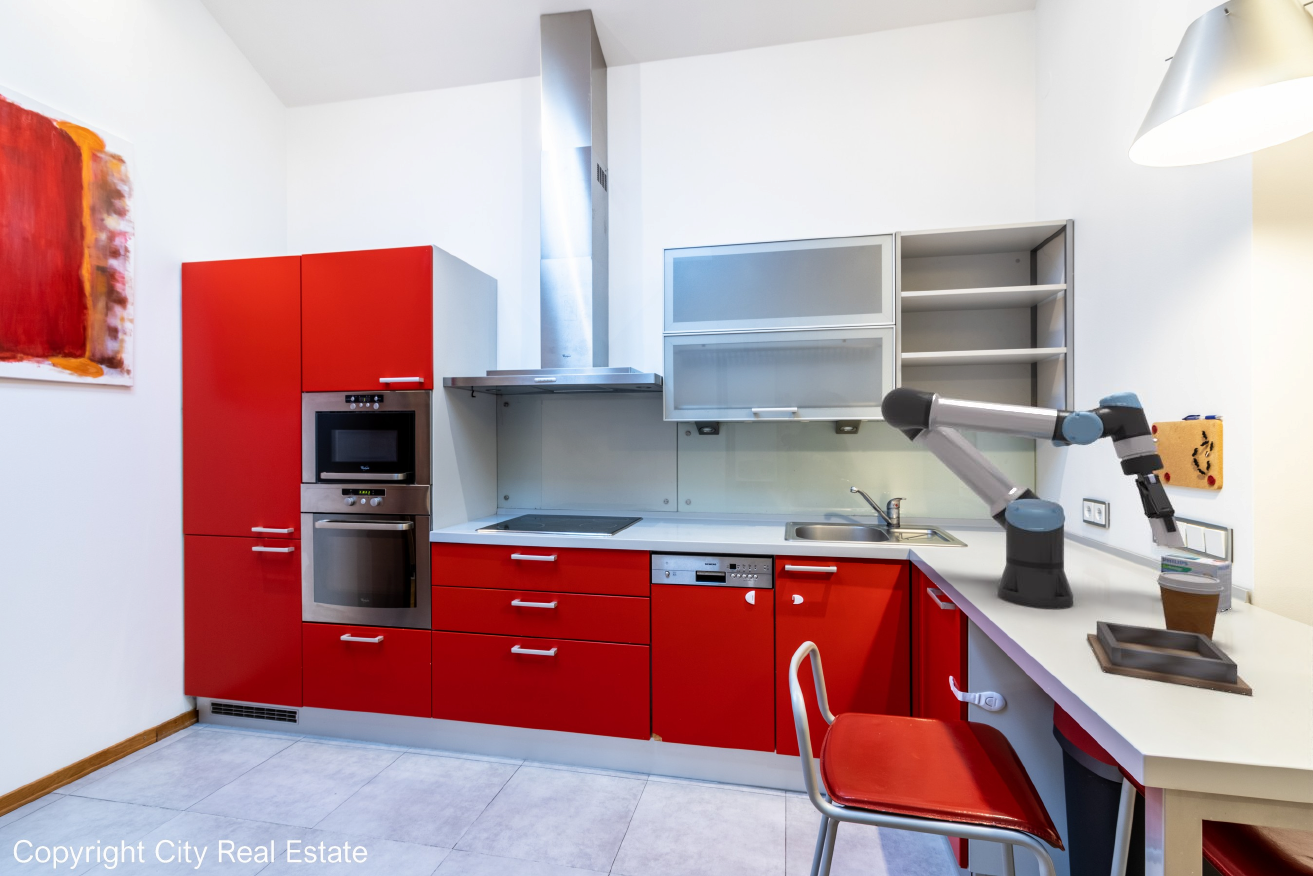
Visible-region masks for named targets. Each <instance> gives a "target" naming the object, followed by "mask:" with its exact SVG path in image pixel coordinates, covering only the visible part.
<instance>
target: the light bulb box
mask: <svg viewBox="0 0 1313 876" xmlns="http://www.w3.org/2000/svg"><path fill="white" fill-rule="evenodd" d="M1232 566H1233V565H1232V561H1227V560H1219V559H1213V558H1205V557H1199V556H1191V555H1186V554H1179V553H1172V554H1166V555H1162V556H1161V559H1160V573H1162V572H1181V573H1191V574H1198V575H1204V576H1208V577H1212V578H1216V579H1218V580H1220V583H1221V586H1222V587H1223V588H1224V590H1222V593H1220V598H1219V603H1218V608H1217V612H1218V613H1220V612H1219V611H1222V610H1226V609H1229V610H1231V609H1232V583H1233V581H1232V579H1233V578H1232V577H1233V576H1232V575H1233V571H1232V570H1233V569H1232V568H1233V567H1232ZM1161 600H1162V597H1161V596H1160V601H1161ZM1230 608H1231V609H1230ZM1226 611H1227V610H1226ZM1222 612H1223V611H1222Z"/></svg>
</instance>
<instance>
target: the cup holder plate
mask: <svg viewBox="0 0 1313 876" xmlns="http://www.w3.org/2000/svg"><path fill="white" fill-rule="evenodd" d="M1086 635H1087V636H1086V639H1087V641H1088V643H1089V645H1090V647H1091V649H1092V648H1093V649H1092V652H1093V653H1094V655H1095V658H1096V659H1097V662H1098V661H1099V662H1098V663H1100V664H1099V666H1100V665H1101V666H1100V667H1102V668H1101V669H1103V670H1102V672H1103V671H1105V672H1104V673H1107V672H1111V673H1110V674H1114V673H1116V674H1115V675H1120V674H1121V676H1126V675H1129V676H1128V677H1132V676H1134V677H1133V678H1139V677H1140V679H1145V678H1147V679H1146V680H1151V679H1152V680H1151V681H1158V682H1164V683H1170V684H1171V683H1172V684H1176V685H1177V684H1178V685H1182V684H1186V685H1185V686H1189V685H1193V686H1192V687H1195V686H1199V687H1198V688H1201V687H1206V688H1205V689H1207V688H1213V689H1212V690H1214V689H1218V690H1217V691H1220V690H1224V691H1223V692H1226V691H1231V692H1230V693H1232V692H1238V693H1245V694H1250V695H1249V696H1251V695H1252V696H1253V689H1252V687H1251V686H1249V684H1248V683H1247V682H1245V680H1243V678H1241V677H1240V676H1239V675H1238V664H1237V663H1236V662H1235V661H1234V660H1233V659H1232V658H1231V657H1229V655H1227V654H1226V653H1225V651H1223V650H1222V649H1221V648H1220V647H1219V646H1218V645H1217V644H1215V642H1214V641H1213V640H1212V641H1211V640H1210V639H1209V638H1208V637H1207V636H1206V635H1205V634H1197V633H1189V632H1181V631H1173V630H1167V629H1166V628H1165V629H1164V628H1157V627H1156V628H1155V627H1149V626H1141V625H1132V624H1131V625H1130V624H1125V623H1115V622H1109V621H1100V620H1096V633H1094V634H1093V633H1088V632H1087V634H1086ZM1238 693H1237V694H1238ZM1245 694H1244V695H1245Z"/></svg>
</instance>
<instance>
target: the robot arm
mask: <svg viewBox="0 0 1313 876" xmlns="http://www.w3.org/2000/svg"><path fill="white" fill-rule="evenodd" d="M880 412H881V415H882V417H883V420H884V421H885V422H886V423H887V424H888V425H889V426H891V427H892V428H895V429H898V430H899V431H900V432H901V433H902V434H903V435H904V436H905V437H906V438H908V439H909V441H911V442H912V443H914V444H915V443H916V444H922V445H923V446H924V447H925V448H926V449H928V451H929V452H930V453H932V454H933V455H934V456H935V457H936V458H937V459H938V460H939V461H941V463H942V464H943V465H944V466H945V467H946V468H948V469H949V470H950V471H951V472H952V473H953V474H954V476H956V477H957V478H958V479H959V480H960V481H961V482H962V483H964V485H966V486H967V487H968V488H969V489H970V490H971V491H972V492H973V494H975V495H977V496H978V498H980V499H981V500H982V501H983V502H984V503H985V504H986V505H987V506H988V507H989V510H990V511H989V512H990V513H989V514H990V515H989V516H990V517H991V518H992V519H993V520H994V521H995V522H996V523H997V524H999V526H1001V527H1002V528H1003V530H1005V544H1006V545H1005V565H1004V566H1005V567H1004V569H1003V572H1002V574H1001V577H1000V580H999V582H998V584H997V596H998V597H999V598H1001V599H1002V600H1004V601H1006V602H1009V603H1012V604H1017V605H1021V606H1027V607H1033V608H1042V609H1066V608H1067V609H1068V608H1071V607H1073V606H1074V594H1073V590H1072V588H1071V586H1070V582H1069V579H1068V578H1067V574H1066V572H1065V521H1066V516H1065V512H1064V511H1065V510H1064V508H1063V506H1062V505H1060V504H1059V503H1057V502H1054V501H1050V500H1045V499H1041V497H1039V496H1038V495H1037V494H1036V493H1035V492H1033V491H1032V489H1030V488H1029V487H1027V486H1022V485H1021V486H1020V485H1017V484H1015V483H1014V482H1013V481H1012V480H1011V479H1010V478H1009V477H1008V476H1006V474H1004V473H1003V472H1002V471H1001V470H1000V469H999V468H998V467H996V465H995V464H993V463H992V462H991V461H990V460H989V459H988V458H987V457H985V456H984V454H982V453H981V451H979V450H978V449H977V448H976V447H975V446H973V445H972V444H971V443H970V442H969V441H968V440H967V439H966V438H965V437H963V435H961V434H960V433H959V432H958V431H957V430H965V431H970V432H971V431H972V432H977V433H978V432H980V433H987V434H997V435H1002V436H1003V435H1004V436H1013V437H1021V438H1027V439H1035V440H1036V439H1037V440H1044V441H1045V440H1046V441H1050V442H1051V444H1052V446H1053V447H1056V448H1061V447H1070V446H1072V445H1078V446H1088V445H1091V444H1093V443H1095V442H1096V441H1098V440H1101V439H1105V438H1109V437H1110V438H1111V440H1112V444H1113V445H1112V446H1113V447H1114V450H1115V453H1116V456H1117V459H1121V461H1120V463H1119V464H1120V467H1121V469H1122V472H1123V475H1125V476H1128V477H1129V476H1135V475H1136V476H1137V478H1135V479H1134V482H1135V485H1136V487H1137V489H1138V494H1139V496H1140V500H1141V504H1142V508H1143V513H1144V516H1145V517H1146V518H1147V520H1148V523H1149V525H1150V528H1151V531H1152V534H1153V537H1154V539H1155V542H1156V545H1157V547H1159V546H1160V547H1161V546H1167V548H1168V549H1173V548H1174V549H1175V548H1183V547H1186V545H1185V542H1184V540H1183V537H1182V534H1181V531H1180V528H1179V526H1178V524H1177V520H1176V517H1175V513H1176V511H1175V509H1174V507H1173V504H1172V503H1171V501H1170V499H1169V496H1168V494H1167V492H1166V490H1165V487H1164V486H1163V484H1162V482H1161V478H1160V474H1158V473H1157V471H1161V470H1164V468H1165V466H1164V462H1163V461H1162V458H1161V455H1160V454H1159V453H1156V452H1157V451H1158V447H1157V443H1158V442H1159V440H1158V439H1157V438H1153V435H1152V434H1153V433H1152V430H1151V429H1150V426H1149V423H1148V419H1147V417H1146V414H1145V410H1144V407H1143V406H1142V403H1141V401H1140V400H1139V397H1138V395H1137V394H1136V393H1134V392H1132V391H1128V392H1127V391H1126V392H1120V393H1116V394H1112V395H1109V396H1105V397H1103V398H1101V399H1100V400H1099V407H1096V408H1092V409H1088V410H1079V411H1078V410H1070V409H1069V410H1068V409H1056V408H1047V407H1040V406H1038V407H1037V406H1029V405H1020V404H1009V403H1001V402H1000V403H998V402H990V401H980V400H972V399H971V400H970V399H969V400H968V399H960V398H952V397H943V396H940V394H938V392H931V391H925V390H924V391H923V390H919V389H916V388H914V387H913V388H912V387H909V386H900V387H896V388H894V389H892V390H890V391H889V392H887V393H886V395H885V396H884V398H883V399H882V401H881V406H880ZM1154 472H1156V473H1154Z"/></svg>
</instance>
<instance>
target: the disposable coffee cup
mask: <svg viewBox="0 0 1313 876" xmlns="http://www.w3.org/2000/svg"><path fill="white" fill-rule="evenodd" d="M1156 582H1157V584H1158V586H1159V589H1160V590H1159V591H1160V598H1161V597H1162V601H1161V603H1162V609H1163V616H1164V621H1165V630H1173V631H1181V632H1189V633H1197V634H1205V635H1206V636H1207V637H1208V638H1209V639H1210V640H1211V641H1212V642H1213V635H1214V631H1215V630H1214V629H1215V624H1216V621H1217V620H1216V618H1217V614H1218V613H1217V608H1218V603H1219V598H1220V593H1222V590H1224V588H1223V587H1222V586H1221V583H1220V580H1218V579H1216V578H1212V577H1208V576H1204V575H1198V574H1191V573H1181V572H1162V573H1161V572H1160V573H1159V575H1158V577H1157V578H1156Z"/></svg>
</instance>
